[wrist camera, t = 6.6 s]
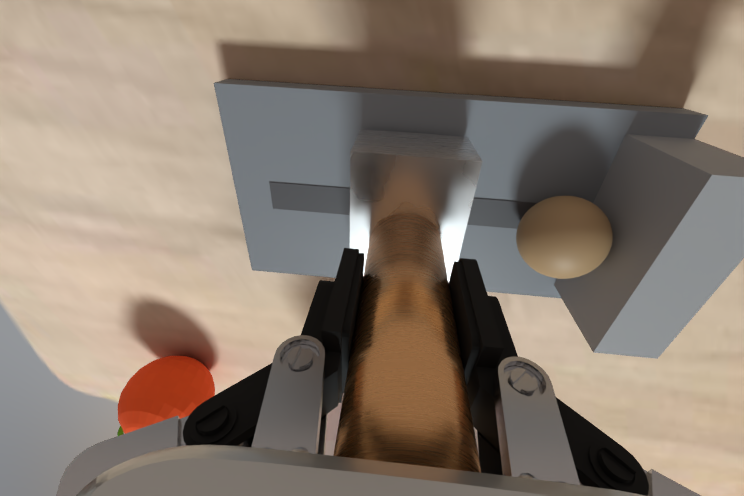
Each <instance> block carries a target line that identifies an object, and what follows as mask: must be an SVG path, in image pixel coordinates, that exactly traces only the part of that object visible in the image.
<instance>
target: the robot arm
mask: <svg viewBox="0 0 744 496" xmlns="http://www.w3.org/2000/svg"><path fill="white" fill-rule="evenodd" d="M363 274H364V253H359V249H353V248H344V250H343V254H342V257H341V261H340V265H339V268H338V272H337V275H336V279H335V282H332V281H321V280H320V281H319V284H318V286H317V289H316V292H315V295H314V298H313V301H312V304H311V307H310V310H309V313H308V316H307V318H306V321H305V324H304V327H303V330H302V333H301V335H300V336H294V337H292V338H289V339H287V340H286V341H284V342H283V343H282V344H281V345H280V346H279V347H278V348H277V350H276V353H275V355H274V359H273V363H271V364H270V365H268V366H266V367H264V368H263V369H261V370H259V371H257V372H256V373H254V374H252V375H250V376H248V377H247V378H245V379H243V380H241V381H240V382H238V383H236V384H234V385H233V386H231V387H229V388H227V389H226V390H224V391H222V392H220V393H218V394H217V395H215V396H213V397H211V398H210V399H208V400H206V401H204V402H203V403H202V404H200V405H199V406H197V407H196V408H195V409H194V411H193V412H192V413H191V414H190V415H189V416H186V417H184V418H181V419H180V418H179V416H175V417H172V418H169V419H166V420H163V421H161V422H158V423H155V424H152V425H149V426H146V427H143V428H140V429H137V430H134V431H132V432H129V433H126V434H123V435H120V436H117V437H114V438H111V439H109V440H105V441H103V442H100V443H97V444H95V445H93V446H91V447H89V448H87V449H86V450H84V451H83V452H82V453H80V454H79V455H78V456H77V457H76V458H74V460H73V461H72V462H71V463H70V464H69V466H68V467H67V468H66V470H65V472H64V474H63V476H62V478H61V481H60V484H59V488H58V491H57V495H56V496H701V495H699V494H697V493H695V492H693V491H691V490H689V489H688V488H686V487H684V486H682V485H680V484H678V483H677V482H675V481H673V480H671V479H669V478H667V477H665V476H664V475H662V474H660V473H658V472H656V471H654V470H653V469H651V470H650V471H648V472H647V471H645V470H644V469H642V467H641V465H640V464H639V463H638V461H637V460H636V459H635V458H634V457H633V455H631V454H630V453H629V452H628V451H627V450H626V449H625V448H623V447H622V446H621V445H619V444H618V443H617V442H615V441H614V440H613V439H611V438H610V437H609V436H607V435H606V434H605V433H603V432H602V431H601V430H599V429H598V428H597V427H595V426H594V425H593V424H591V423H590V422H589V421H587V420H586V419H585V418H583V417H582V416H581V415H579V414H578V413H577V412H575V411H574V410H572V409H571V408H570V407H568V406H567V405H566V404H564V403H563V402H562V401H560V400H559V399H558V398H556V397H555V393H554V390H553V386H552V383H551V381H550V378H549V376H548V375H547V374H546V372H545V371H544V370H543V369H542V368H541V367H540V366H538V365H537V364H536V363H534V362H532V361H530V360H528V359H525V358H522V357H518V356H517V353H516V350H515V347H514V344H513V341H512V338H511V335H510V332H509V330H508V327H507V324H506V321H505V318H504V315H503V312H502V309H501V306H500V303H499V301H498V299H497V298H496V297H493V296H488V295H487V292H486V288H485V285H484V282H483V279H482V276H481V272H480V269H479V266H478V263H477V260H476V259H466V258H460V259H459V262H456V261H455V262H454V263H453V267H452V271H451V275H450V279H449V288H450V294H451V300H452V305H453V311H454V317H455V323H456V328H457V334H458V340H459V346H460V352H461V357H462V363H463V369H464V375H465V380H466V386H467V392H468V398H469V404H470V409H471V415H472V421H473V427H474V432H475V438H476V444H477V450H478V455H479V461H480V467H481V473H479V472H470V471H462V470H453V469H445V468H436V467H427V466H419V465H410V464H401V463H393V462H384V461H375V460H367V459H358V458H349V457H339V456H330V455H325V448H326V434H327V421H328V413H329V412H330V411H332V410H333V409H334V408H336V407H337V406H338V404H339V403H342V397H343V393H344V389H345V383H346V377H347V371H348V365H349V360H350V354H351V348H352V342H353V336H354V330H355V324H356V318H357V312H358V306H359V300H360V294H361V288H362V282H363Z"/></svg>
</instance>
